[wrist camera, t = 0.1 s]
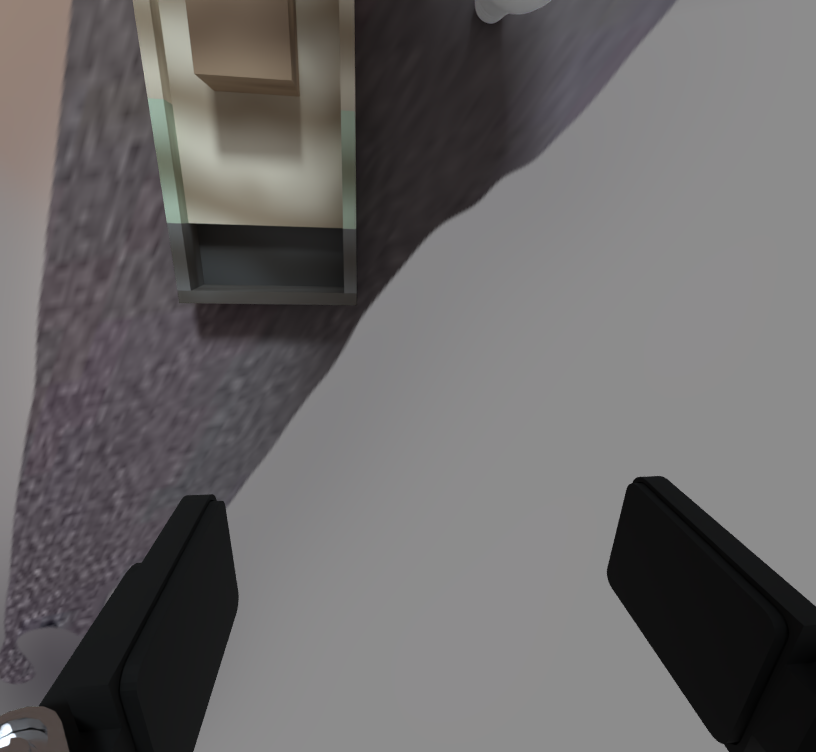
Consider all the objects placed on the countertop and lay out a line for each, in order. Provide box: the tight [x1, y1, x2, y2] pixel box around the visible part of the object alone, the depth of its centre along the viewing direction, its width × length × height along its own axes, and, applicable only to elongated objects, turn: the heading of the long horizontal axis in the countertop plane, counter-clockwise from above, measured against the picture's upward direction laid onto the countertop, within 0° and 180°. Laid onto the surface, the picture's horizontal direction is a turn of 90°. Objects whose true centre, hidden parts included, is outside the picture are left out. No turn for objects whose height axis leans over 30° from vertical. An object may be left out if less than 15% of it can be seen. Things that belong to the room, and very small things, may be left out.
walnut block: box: [185, 0, 300, 97], centre depth 28 cm, size 6×6×4 cm
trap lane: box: [133, 0, 357, 305], centre depth 32 cm, size 23×14×4 cm, turn 178°
